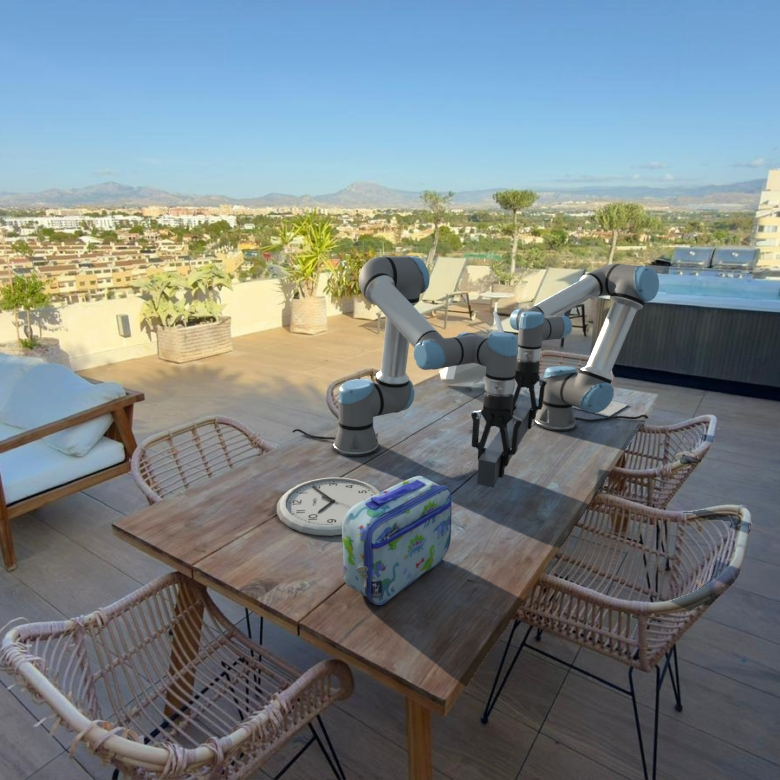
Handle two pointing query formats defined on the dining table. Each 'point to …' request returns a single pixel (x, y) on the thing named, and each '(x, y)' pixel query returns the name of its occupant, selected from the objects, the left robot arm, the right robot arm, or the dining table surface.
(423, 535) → the lunch box
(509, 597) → the dining table surface
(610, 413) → the invitation card
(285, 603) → the dining table surface
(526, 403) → the plank
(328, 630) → the dining table surface
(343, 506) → the wall clock
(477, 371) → the white plastic object
